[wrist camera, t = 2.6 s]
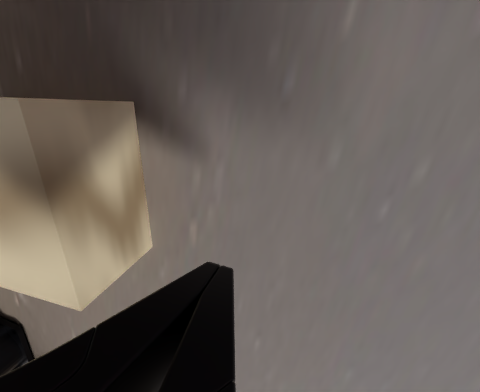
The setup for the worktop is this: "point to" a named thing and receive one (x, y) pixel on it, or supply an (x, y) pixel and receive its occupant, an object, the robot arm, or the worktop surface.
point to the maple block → (69, 197)
